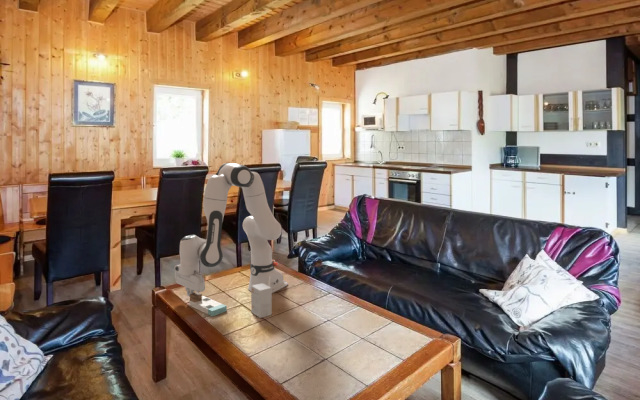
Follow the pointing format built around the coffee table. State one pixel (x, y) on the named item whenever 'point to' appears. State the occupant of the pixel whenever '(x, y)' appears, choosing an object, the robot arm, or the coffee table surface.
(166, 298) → the coffee table surface
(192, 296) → the block
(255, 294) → the small box
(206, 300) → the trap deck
